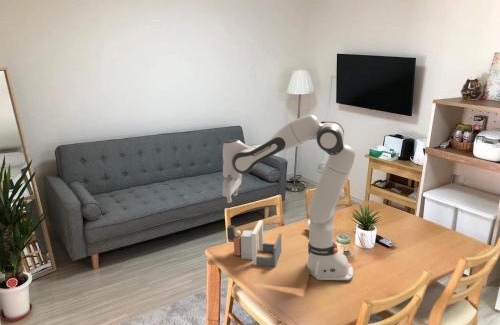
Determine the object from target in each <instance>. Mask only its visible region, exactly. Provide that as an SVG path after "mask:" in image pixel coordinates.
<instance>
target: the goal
mask: <svg viewBox="0 0 500 325" xmlns="http://www.w3.org/2000/svg"><path fill="white" fill-rule="evenodd" d="M252 231H253V232H252V265H254V266H257V265H258V266H268V267H273V268H276V267H277V264H278V261H279V259H280V256H281V254H282V233H278V236H277V238H276V240H275V243H267V242H264V220H258V221H257V224H256V225H255V227H254V229H253V230H252ZM257 244H258V252H270V253H271V252H273V253H272V255H273V256H272V257H269V256H260V255H258V253H257Z"/></svg>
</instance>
